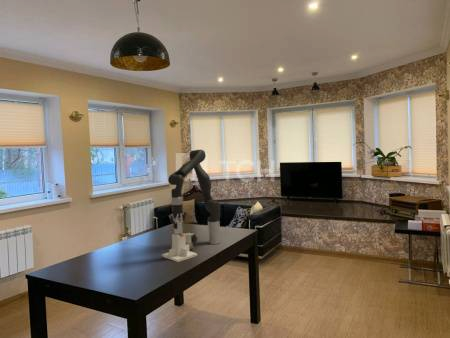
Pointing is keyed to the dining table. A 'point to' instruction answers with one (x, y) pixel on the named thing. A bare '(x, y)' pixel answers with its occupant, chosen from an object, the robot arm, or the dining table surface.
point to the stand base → (179, 249)
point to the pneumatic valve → (190, 239)
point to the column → (178, 228)
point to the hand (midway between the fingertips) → (178, 228)
